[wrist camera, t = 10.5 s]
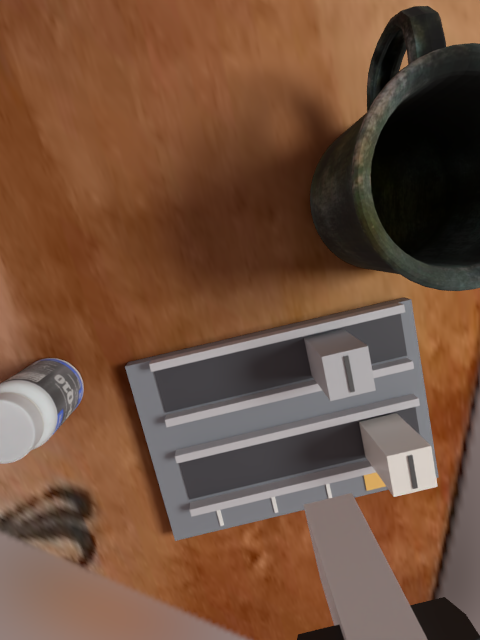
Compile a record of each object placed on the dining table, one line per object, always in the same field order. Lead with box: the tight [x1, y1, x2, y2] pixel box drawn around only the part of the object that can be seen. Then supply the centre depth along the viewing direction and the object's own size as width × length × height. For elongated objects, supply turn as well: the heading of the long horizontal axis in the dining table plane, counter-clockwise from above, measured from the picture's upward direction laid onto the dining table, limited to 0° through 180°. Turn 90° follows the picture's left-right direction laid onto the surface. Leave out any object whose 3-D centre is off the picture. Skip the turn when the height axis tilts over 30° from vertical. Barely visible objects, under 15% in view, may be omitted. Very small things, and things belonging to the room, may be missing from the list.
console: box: [125, 298, 438, 541], centre depth 31 cm, size 15×22×7 cm
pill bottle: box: [0, 358, 84, 464], centre depth 29 cm, size 5×5×8 cm
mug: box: [310, 6, 480, 291], centre depth 26 cm, size 11×15×12 cm
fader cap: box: [359, 413, 438, 497], centre depth 31 cm, size 3×3×6 cm
